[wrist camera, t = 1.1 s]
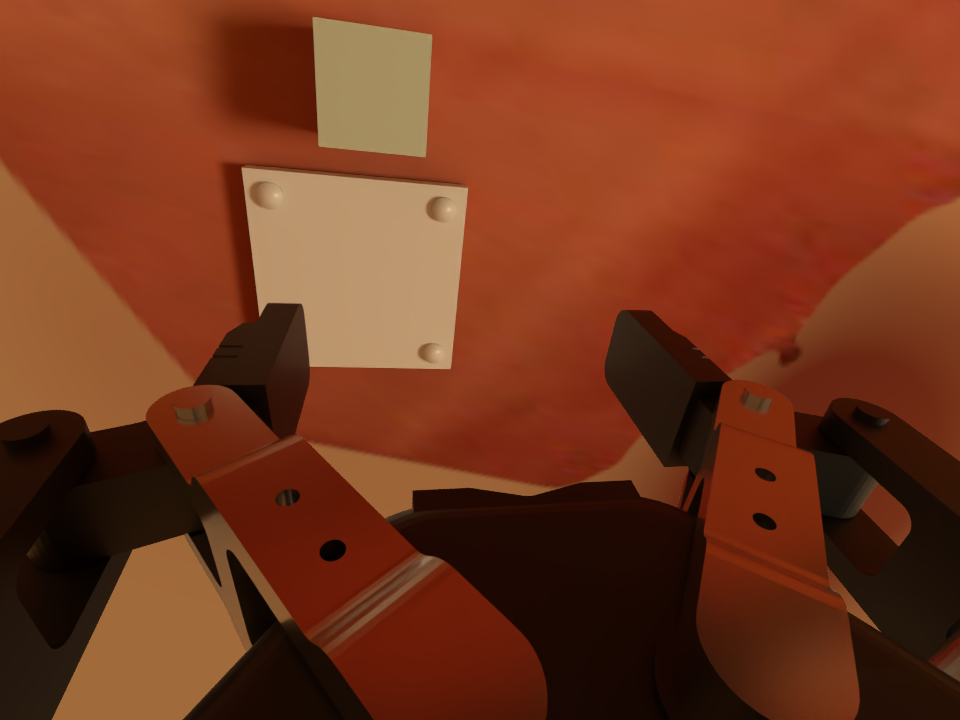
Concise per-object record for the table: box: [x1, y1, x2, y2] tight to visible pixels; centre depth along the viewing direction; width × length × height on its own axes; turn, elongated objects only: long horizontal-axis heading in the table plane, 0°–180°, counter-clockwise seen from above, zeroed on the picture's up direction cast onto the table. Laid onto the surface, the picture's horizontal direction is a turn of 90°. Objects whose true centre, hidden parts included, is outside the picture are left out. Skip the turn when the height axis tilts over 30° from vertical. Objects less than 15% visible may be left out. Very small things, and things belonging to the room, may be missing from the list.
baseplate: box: [242, 165, 468, 369], centre depth 34 cm, size 14×14×2 cm
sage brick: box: [313, 17, 432, 157], centre depth 27 cm, size 6×6×6 cm
